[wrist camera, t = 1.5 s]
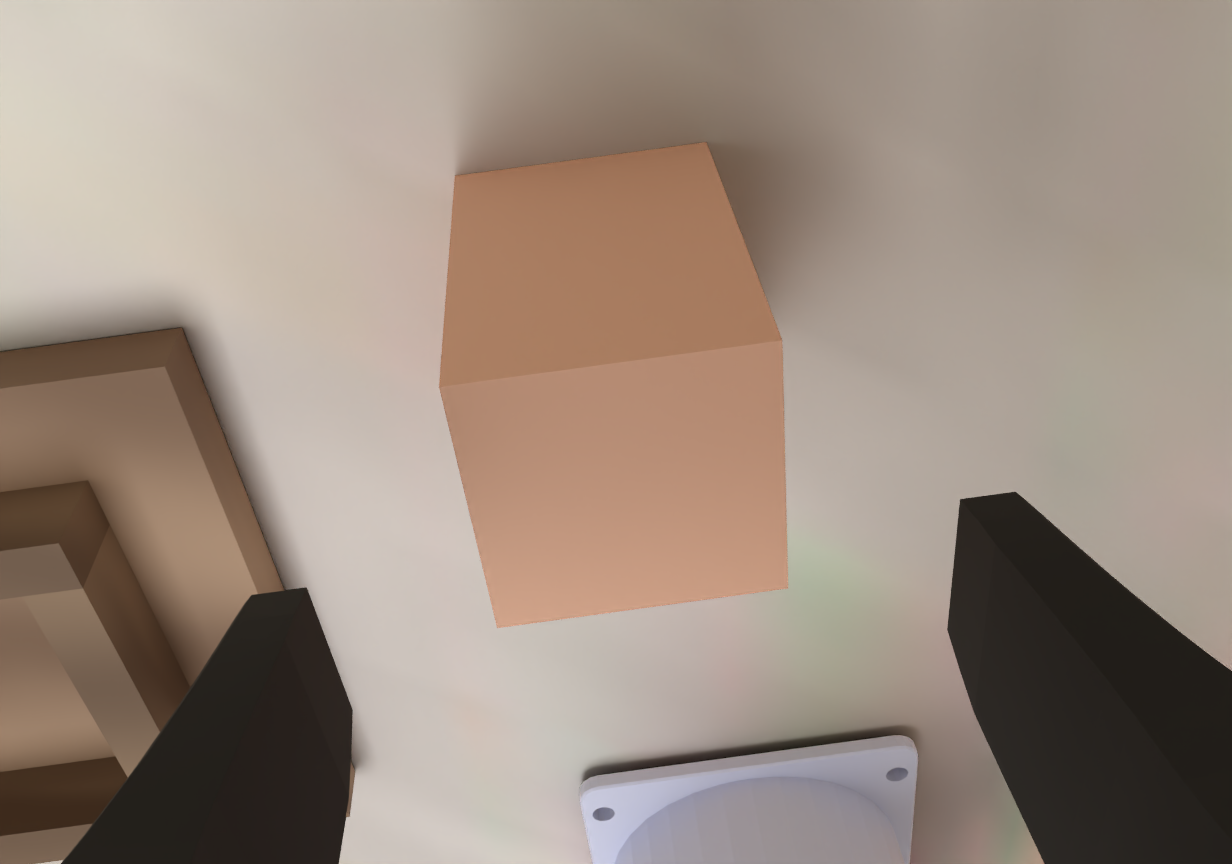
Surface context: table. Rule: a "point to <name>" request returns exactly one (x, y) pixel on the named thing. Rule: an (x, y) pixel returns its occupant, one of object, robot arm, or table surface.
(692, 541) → the terracotta block
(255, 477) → the table surface
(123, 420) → the display stand
